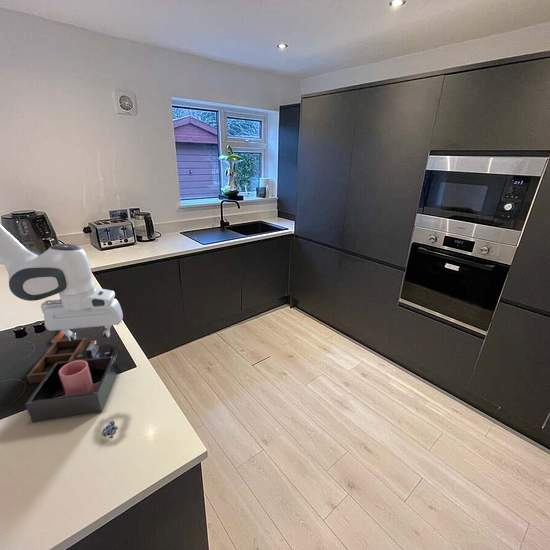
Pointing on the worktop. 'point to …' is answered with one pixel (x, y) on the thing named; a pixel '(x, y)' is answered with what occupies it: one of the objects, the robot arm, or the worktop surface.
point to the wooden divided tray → (56, 357)
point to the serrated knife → (57, 336)
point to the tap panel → (102, 352)
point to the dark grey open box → (69, 406)
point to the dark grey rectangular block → (92, 349)
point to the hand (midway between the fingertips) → (90, 337)
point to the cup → (76, 378)
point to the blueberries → (110, 429)
